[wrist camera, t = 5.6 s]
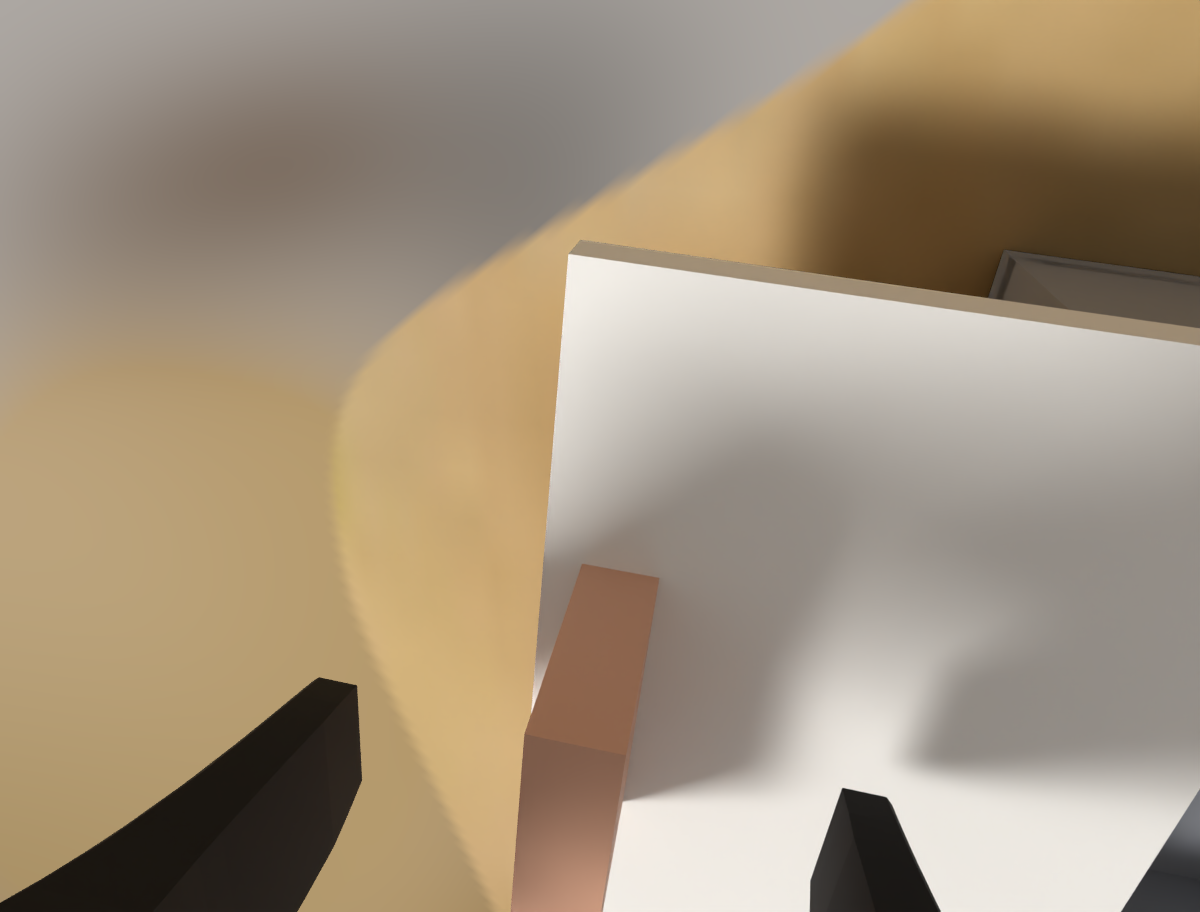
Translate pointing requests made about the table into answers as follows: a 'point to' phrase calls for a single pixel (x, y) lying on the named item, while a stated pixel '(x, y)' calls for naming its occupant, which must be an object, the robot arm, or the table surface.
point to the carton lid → (858, 591)
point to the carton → (1196, 845)
